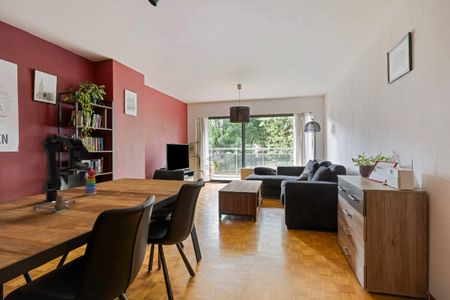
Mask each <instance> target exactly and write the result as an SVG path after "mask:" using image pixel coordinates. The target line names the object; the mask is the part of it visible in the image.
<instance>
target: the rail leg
mask: <svg viewBox="0 0 450 300" xmlns="http://www.w3.org/2000/svg"><path fill="white" fill-rule="evenodd" d="M76 202H77V201H76V200H75V199H72V200H69V199H68V198H65V199H64V198H63V205H66V204H70V203H72V204H73V205H74V204H76ZM53 204H54V205H53ZM55 204H56V200H55V201H50V202H49V201H48V202H45V203H41V204H36V205H35V204H34V205H35V206H41V207H44V206H47V205H53V206H54V208H55V209H56V206H55ZM34 205H33V207H32V210H33V211H35V210H37V208H36V207H34Z"/></svg>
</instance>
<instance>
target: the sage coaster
mask: <svg viewBox="0 0 450 300" xmlns="http://www.w3.org/2000/svg"><path fill="white" fill-rule="evenodd" d="M66 211H67V210H66V208H65V209H64V208H63V210H62V211H56V213H62V212H66ZM51 212H52V213H53V210H51Z"/></svg>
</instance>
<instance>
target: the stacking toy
mask: <svg viewBox="0 0 450 300" xmlns="http://www.w3.org/2000/svg"><path fill="white" fill-rule="evenodd" d="M86 174H87V176H86V178H87V179H86V182H85V183H86V184H85V189H84V192H83V193H84V195H85V196H94V195H96V194H97V185H96V182H97V181H96V176H95V174H96V171H95V169H93V168H91V170H90V171H89V172H87V173H86Z"/></svg>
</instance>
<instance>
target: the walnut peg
mask: <svg viewBox="0 0 450 300" xmlns="http://www.w3.org/2000/svg"><path fill="white" fill-rule="evenodd" d="M63 200H64V195H57V196H56V200H55V201H56V203H55V204H56V208H55V209H56V211H62V210H63V209H64V207H63V205H64V204H63V202H64V201H63ZM62 212H63V211H62Z"/></svg>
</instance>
